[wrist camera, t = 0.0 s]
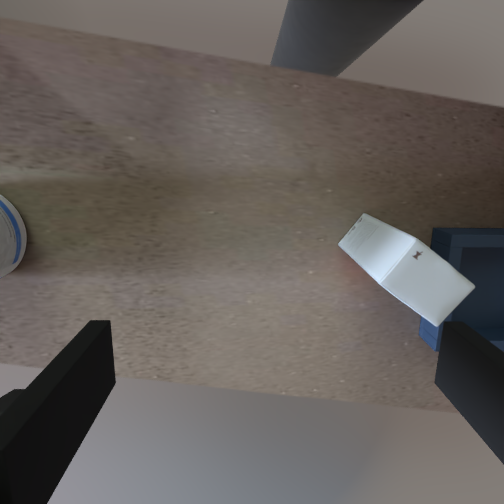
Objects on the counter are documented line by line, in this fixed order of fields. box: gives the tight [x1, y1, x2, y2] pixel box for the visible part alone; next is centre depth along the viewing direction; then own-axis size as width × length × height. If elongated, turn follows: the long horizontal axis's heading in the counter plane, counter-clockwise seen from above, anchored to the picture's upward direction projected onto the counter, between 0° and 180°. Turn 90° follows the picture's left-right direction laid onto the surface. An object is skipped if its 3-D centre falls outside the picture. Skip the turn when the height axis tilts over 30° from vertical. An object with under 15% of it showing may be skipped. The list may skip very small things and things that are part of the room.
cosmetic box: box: [338, 213, 475, 327], centre depth 32 cm, size 6×4×12 cm
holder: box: [419, 228, 504, 352], centre depth 38 cm, size 12×12×4 cm
